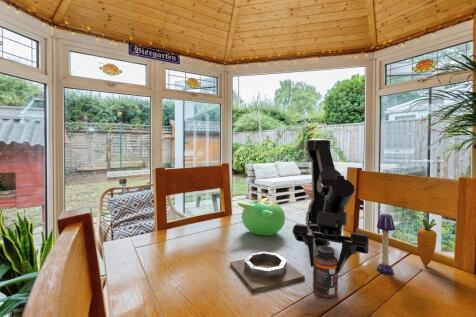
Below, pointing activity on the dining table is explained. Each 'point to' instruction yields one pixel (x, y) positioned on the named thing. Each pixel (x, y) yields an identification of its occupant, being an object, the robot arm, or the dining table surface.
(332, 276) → the supplement bottle
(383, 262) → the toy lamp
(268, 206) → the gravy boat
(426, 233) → the carrot
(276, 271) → the ring
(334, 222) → the robot arm
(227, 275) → the dining table surface
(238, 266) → the stand
